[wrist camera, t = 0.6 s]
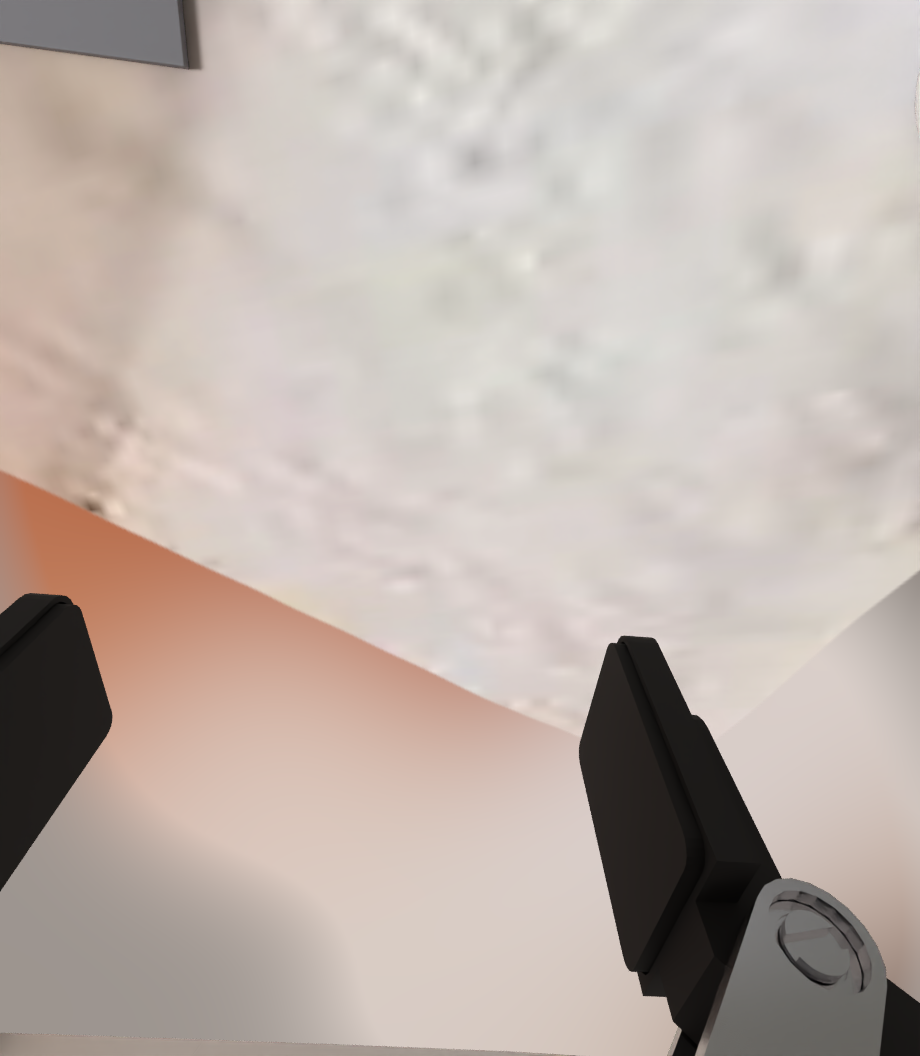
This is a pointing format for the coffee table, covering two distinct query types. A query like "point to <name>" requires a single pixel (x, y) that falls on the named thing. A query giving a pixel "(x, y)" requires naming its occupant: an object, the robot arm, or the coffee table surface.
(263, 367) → the coffee table surface
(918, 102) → the flower in vase
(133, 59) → the mat
